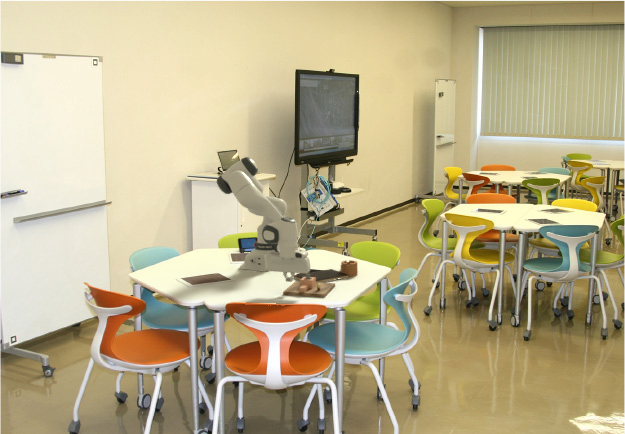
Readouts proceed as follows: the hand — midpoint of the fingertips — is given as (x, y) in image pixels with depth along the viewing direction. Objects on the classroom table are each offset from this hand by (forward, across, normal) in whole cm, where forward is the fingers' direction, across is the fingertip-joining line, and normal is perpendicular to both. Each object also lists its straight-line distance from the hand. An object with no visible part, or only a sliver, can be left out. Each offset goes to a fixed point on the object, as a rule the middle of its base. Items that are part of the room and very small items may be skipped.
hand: (289, 281), depth 331 cm
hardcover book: (+6, +7, +31) cm, 32 cm away
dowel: (+4, +14, +3) cm, 15 cm away
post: (+4, +7, +8) cm, 11 cm away
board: (+6, +8, +7) cm, 12 cm away
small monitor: (+6, -54, +85) cm, 100 cm away
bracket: (+6, +18, +45) cm, 49 cm away
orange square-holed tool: (+4, +7, +4) cm, 9 cm away
